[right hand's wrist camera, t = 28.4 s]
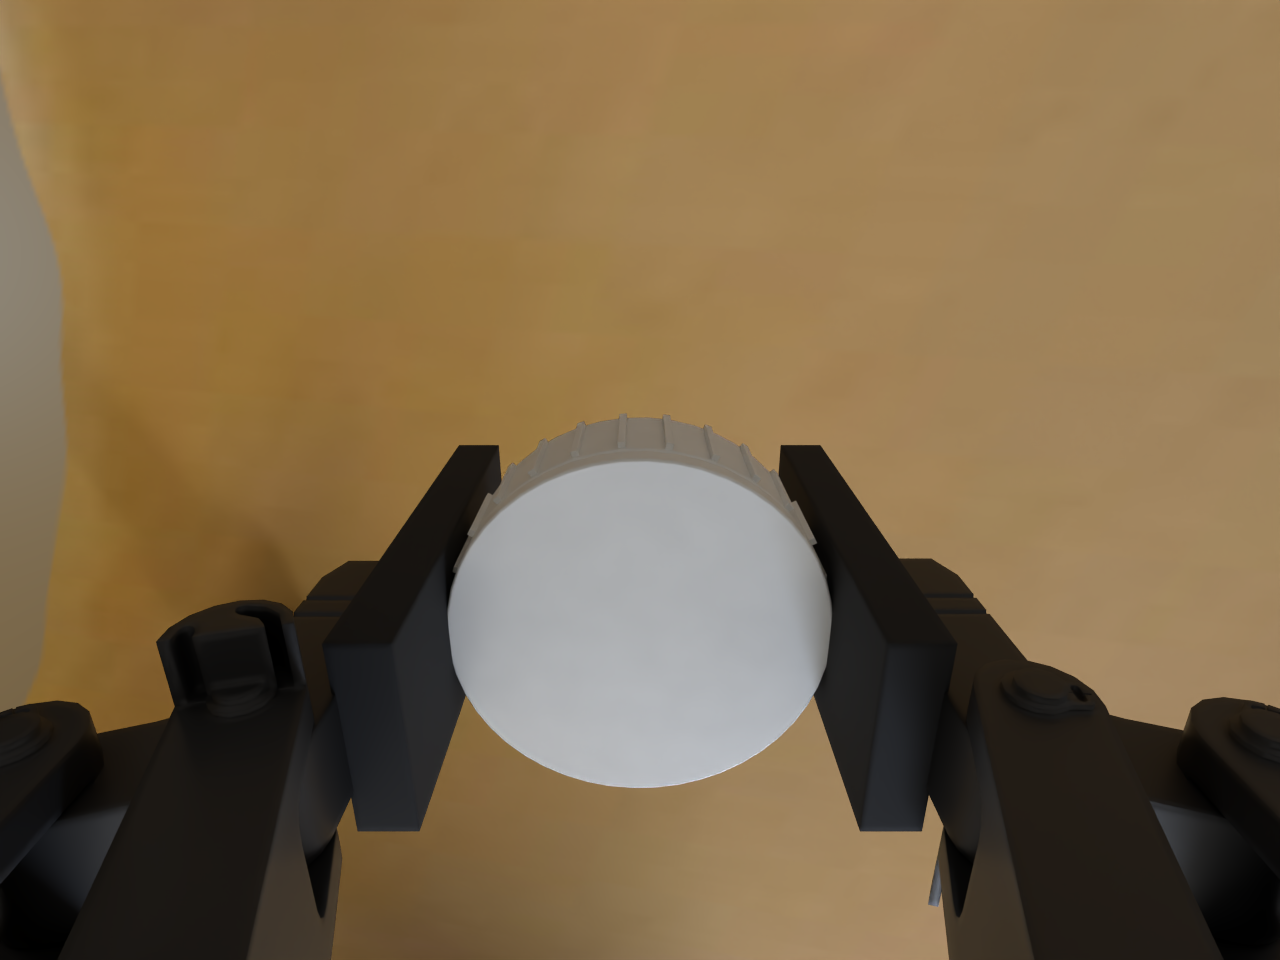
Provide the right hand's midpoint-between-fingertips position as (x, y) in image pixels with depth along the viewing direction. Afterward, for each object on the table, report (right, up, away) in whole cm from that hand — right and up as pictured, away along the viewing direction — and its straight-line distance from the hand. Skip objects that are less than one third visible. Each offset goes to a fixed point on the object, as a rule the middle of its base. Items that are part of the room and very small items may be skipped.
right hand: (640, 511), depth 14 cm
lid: (0, -2, -4) cm, 4 cm away
